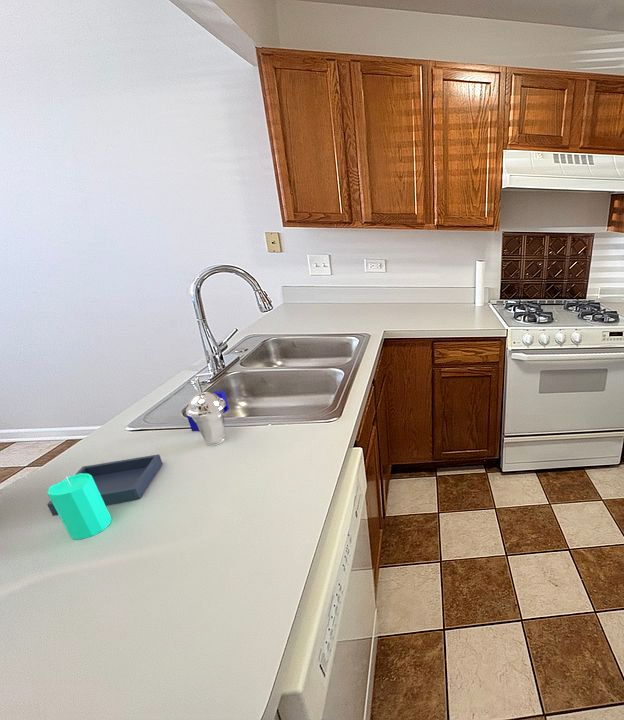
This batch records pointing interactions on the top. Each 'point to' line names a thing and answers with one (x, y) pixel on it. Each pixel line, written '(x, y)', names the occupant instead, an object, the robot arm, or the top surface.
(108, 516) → the candle
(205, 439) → the cup with straw
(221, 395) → the cable clip
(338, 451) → the top surface
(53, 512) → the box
